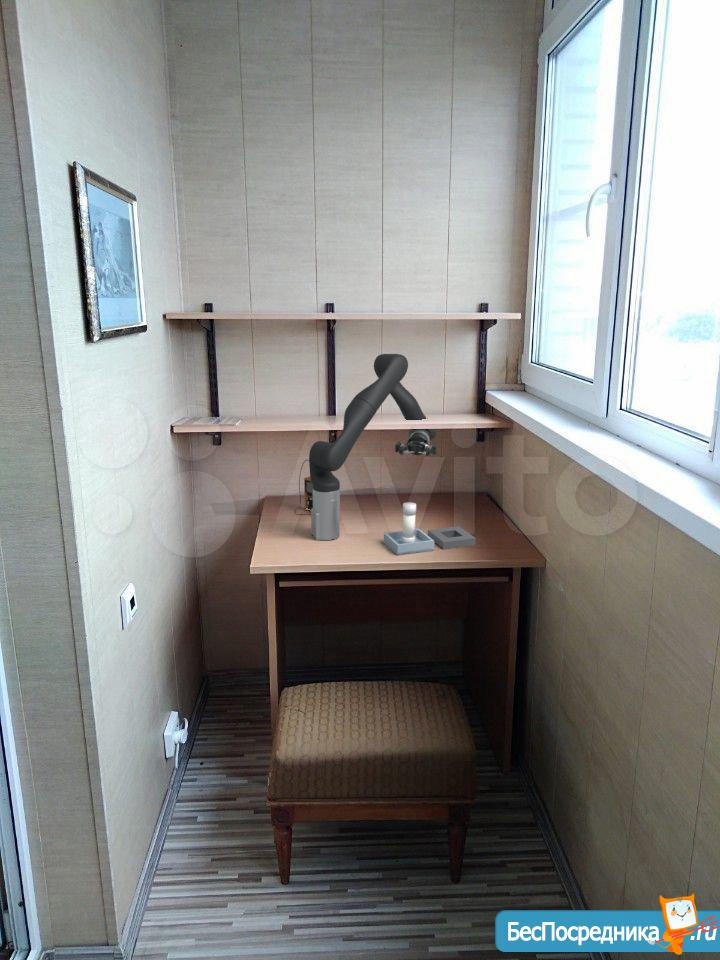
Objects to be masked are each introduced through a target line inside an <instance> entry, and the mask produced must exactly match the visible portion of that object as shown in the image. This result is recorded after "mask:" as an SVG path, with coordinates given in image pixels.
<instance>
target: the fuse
mask: <svg viewBox="0 0 720 960" xmlns="http://www.w3.org/2000/svg"><path fill="white" fill-rule="evenodd" d="M416 514H417V503H415V502H409V501H408V502H407V501H406V502H404V503H402V530H403V535H402V544H405V543H412V542H415V529H416Z"/></svg>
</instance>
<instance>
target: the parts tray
mask: <svg viewBox="0 0 720 960" xmlns="http://www.w3.org/2000/svg"><path fill="white" fill-rule="evenodd" d="M402 535H403V529H402V530H396V531H388V532H383V544H384V545H386V546H387V547H388V548H389V549H390V550H391V551H392V552H393V553H394V554H395V555H396V556H404V555H411V554H419V553H425V552H432V551H434V550H435V542H434V540H433V539H431V538H430V537H429V536H428V534H426V533H425V532H424V531H423V530H421V529H420V528H415V542H412V543H405V544H402Z"/></svg>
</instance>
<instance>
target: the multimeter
mask: <svg viewBox="0 0 720 960" xmlns="http://www.w3.org/2000/svg"><path fill="white" fill-rule="evenodd" d="M306 461H308V462H309V459H305V460H304V461H303V463H302V465H301V467H300V472H299V475H301V472H302V469H303V467H304V464H305V462H306ZM300 479H301V476H299V479H298V490H299V492H301V488H300V485H301V484H300V481H301V480H300ZM303 479H304V480H303V483H304V485H303V487H304V488H303V489H304V490H303V491H304V493H303V494H304V509H305V508H308V509H310V510H311V509H312V508H313V485H312V482H311V479H310V476H307V477H304V478H303ZM301 499H302V497H301V495H299V506H300V505H301V504H302V501H301Z"/></svg>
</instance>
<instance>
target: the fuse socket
mask: <svg viewBox="0 0 720 960" xmlns="http://www.w3.org/2000/svg"><path fill="white" fill-rule="evenodd" d="M427 535H428V536H429V537H430V538H431V539H433V540H434V544H436V546H439V547H440V548H441V549H442V550H449V549H456V548H463V547H469V546H475V545H476V537H475V536H474V535H472V534H471V533H470V532H468V531H466V530H465V529H463V528H462V527H461V526H459V525H457V526H449V527H442V528H435V529H434V528H433V529H428V530H427Z"/></svg>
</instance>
